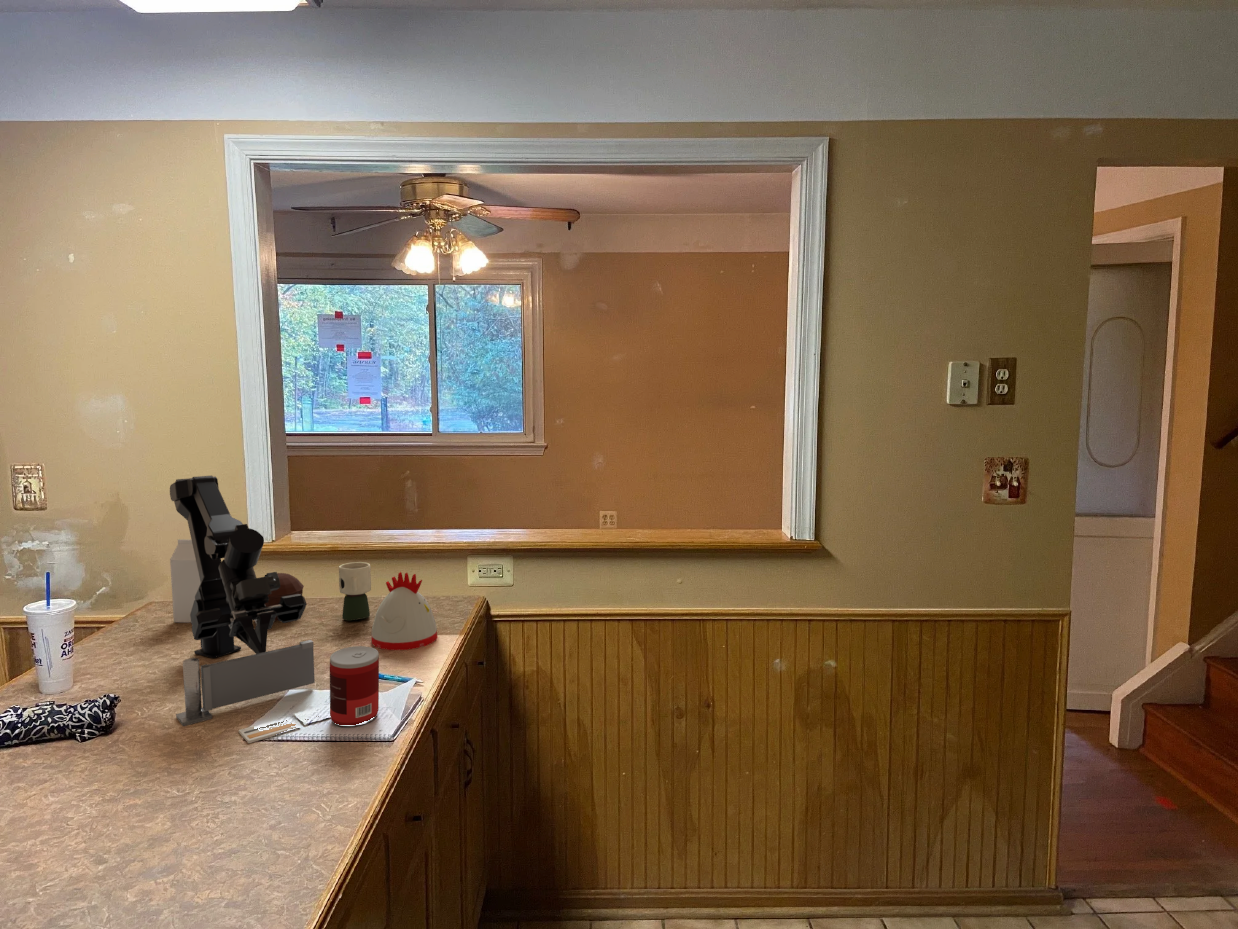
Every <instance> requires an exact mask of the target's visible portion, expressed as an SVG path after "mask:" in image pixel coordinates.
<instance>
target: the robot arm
mask: <svg viewBox="0 0 1238 929" xmlns="http://www.w3.org/2000/svg"><path fill="white" fill-rule="evenodd" d="M218 480H219V478H217V477H216V476H214V475H200V476H199V475H198V476H192V477H191V478H189V477H188V478H176V479H175V481H174V482H173V483H171V484H170V485H169V496H170V500H171V502H173V503H174V506H175V510H176V512H177V513H178V514H179V515H181V516H182V517H183V519H185V520H186V521H187V524H188V525H187V526H188V530H189V534H190V540H192V544H193V549H194V554H195V558H196V563H197V568H198V572H199V577H200V582H201V583H200V586H199V588H198V590H197V592H196V595H195V600H194V603H193V607H192V610H191V614H190V617H191V622H190V623H191V632H192V637H193V640H195V641H200V649H196V650H194V654H196V655H199V656H202V657H206V658H210V659H217V658H219V657H222V656H225V655H228V654H231V653H234V652H238V651H240V650H242V646H240V645H237V644H236V645H235V638H237V639H238V640H239V641H241V642H242V643H244V644H245V645H246V646H247V647H249V648H250V650H252V651H253V652H254V654H258V653H263V652H267V645H268V644H267V641H268V632H269V631H268V630H271V629H272V627H273V625H274V623H275V621H274V620H275V618H276V616H277V618H278V621H279V622H280V623H283V624H286V623H291V622H295V621H299V620H300V619H302V616H303V614H304V612H305V610H306V607H307V605H308V604H307V601H306V598H305V596H303V594H302V595H301V594H295V595H290V596H284V597H281V599H280V602H279V604H278V605H274V606H268V607H266V606H265V603H268V601H269V597H268V595H269V594H271V591H274V590H277V589H279V588H280V580H279V577H278V574H277V573H278V572H277V571H272V572H267V573H266V574H264V576H262V577H257V575H256V571H255V569H254V567H255V566H256V565H258V561H259V558H260V556H261V554H262V550H263V546H264V543H265V540H264V536H263V535H262V534H261V533H260V532H259V531H257V530H255V529H254V528H249V525H248V523H243V522H242V521H241V520H239V519H237V518H234V517H233V516H232V515H231V513H230V511H229V509H228V506H227V504H226V502H225V500H224V497H223V495H222V494H221V491H220V488H219V481H218ZM254 621H255V626H254ZM278 621H277V622H278Z"/></svg>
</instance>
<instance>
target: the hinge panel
mask: <svg viewBox="0 0 1238 929" xmlns="http://www.w3.org/2000/svg"><path fill="white" fill-rule="evenodd" d="M314 652H315V651H314V641H313V640H312V639H308V640H303V641H299V644H295V645H291V646H287V647H281V648H276V649H272V650H266V652H263V653H258V654H256V653H254V654H251V655H246V656H240V657H236V658H231V659H227V660H221V661H218V662H213V663H208V664H207V663H205V664H202V665H200V684H201V702H202V707H203V709H204V710H205V711H209V712H210V711H212V710H214V709H218V708H222V707H226V706H230V705H234V704H239V703H242V702H245V701H249V700H254V699H257V698H261V697H265V696H268V695H273V694H277V693H281V692H284V691H289V690H293V689H296V688H300V687H304V686H308V685H312V684H315V680H316V679H315V660H314V659H315V658H314V656H315V655H314Z"/></svg>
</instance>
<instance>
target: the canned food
mask: <svg viewBox="0 0 1238 929" xmlns="http://www.w3.org/2000/svg"><path fill="white" fill-rule="evenodd" d="M379 654H380V653H379V651H378V649H376V648H374V647H372V646H366V645H355V646H354V645H353V646H348V647H344V648H339V649H337V650H336V651H333V653H332V654H331V655H330V657H329V703H330V716H331V718H330V719H331V721H332V723H333V722H334V723H333V724H335V723H336V724H339V725H356V724H359V723H362V722H364V721H368V720H370V719H371V718H373V717H375V716H376V715H378V713H379V710H380V709H379V707H380V706H379V705H380V704H379V699H380V696H379V694H380V692H379V691H380V684H379V683H380V682H379V680H380V678H379V677H380V676H379V675H380V656H379ZM376 717H377V716H376ZM376 717H375V718H376ZM336 724H335V725H336ZM339 725H338V726H339Z"/></svg>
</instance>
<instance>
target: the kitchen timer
mask: <svg viewBox="0 0 1238 929" xmlns="http://www.w3.org/2000/svg"><path fill="white" fill-rule="evenodd" d="M416 574H417V573H413V574H412V576H411V580H410V577H409V573H408V572H405V573H404V576H403V574H402V572H401V571H400V572H398V574H397V578H396V576H391V581H392V584H391V583H390V582H389V580H388V581H385V584H386V587H387V590H388V593H387V594H386V596H385V597H384V598H383V600H382V601H381V603H380V604H379V606H378V608H377V611H376V612H375V616H374V620H373V623H372V626H371V627H372V628H371V635H370V636H371V644H372V646H374V647H375V648H378V649H381V650H389V651H405V650H407V651H409V650H414V649H419V648H423V647H426V646H428V645H431V644H433V643H434V642H435V641H436V640H437V639H438V628H437V626H438V625H437V623H436V622H437V621H436V619H435V615H434V614H433V611H432V608H431V606H430V604H429V602H428V600H427V599H426V597H425V596H424V595H422V594H421V593H420V592H419V590H420V587H421V586H422V582H423V579H420V580H419V581H418V583H417V575H416Z"/></svg>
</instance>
